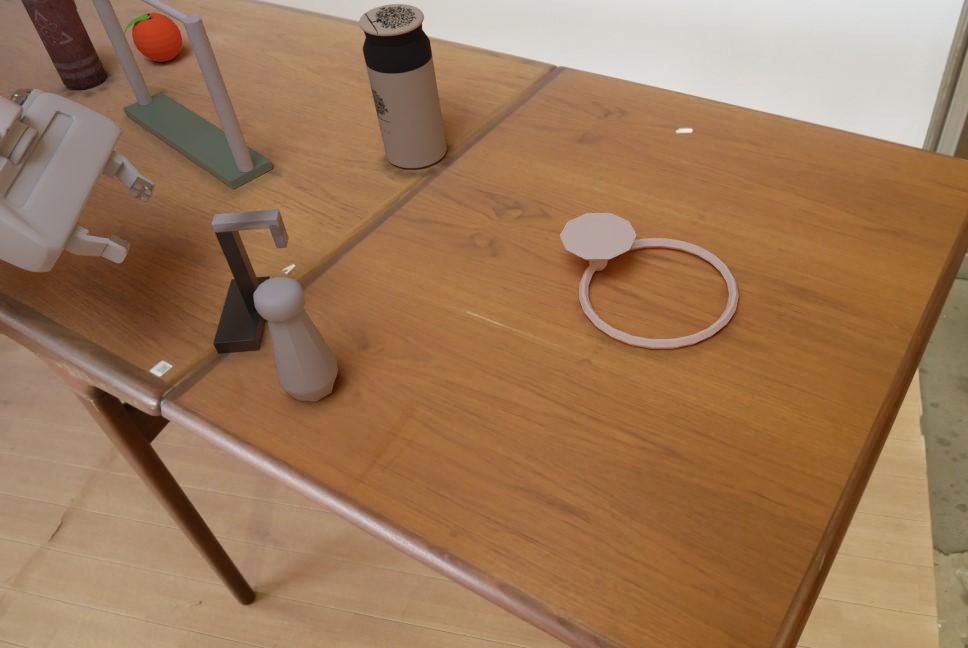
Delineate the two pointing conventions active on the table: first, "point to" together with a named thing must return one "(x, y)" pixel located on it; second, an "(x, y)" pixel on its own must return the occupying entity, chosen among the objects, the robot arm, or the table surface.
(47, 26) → the can
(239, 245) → the hanger
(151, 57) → the clementine
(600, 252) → the hand towel holder
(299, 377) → the salt shaker
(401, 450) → the table surface
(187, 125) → the rack
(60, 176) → the robot arm
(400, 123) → the travel mug
